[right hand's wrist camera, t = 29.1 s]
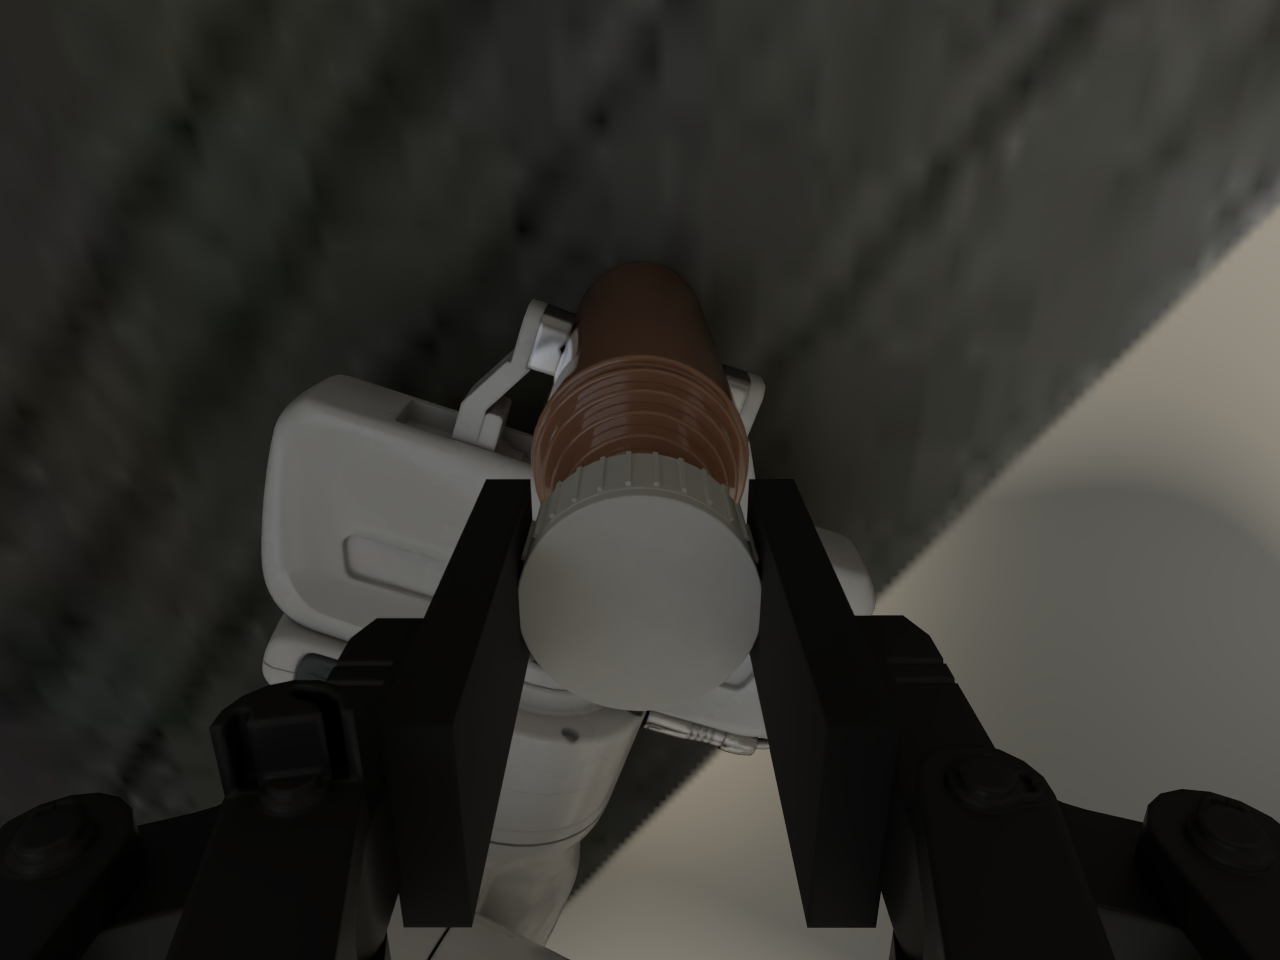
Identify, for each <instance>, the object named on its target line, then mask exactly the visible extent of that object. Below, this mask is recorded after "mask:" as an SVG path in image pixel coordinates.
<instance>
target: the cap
mask: <svg viewBox="0 0 1280 960" xmlns="http://www.w3.org/2000/svg"><path fill="white" fill-rule="evenodd" d="M521 560H524V564H523V567H522V571H521V575H520V578H519V583H518V595H519V612H520V627H521V633H522V636H523V638H524V641H525V643H526V645H527V647H528V649H529V651H530V652H531V654H532V656H533V657H534V659H535V660H536V662H537V663H538V664H539V665H540V667H541V668H542V669H543V670H544V671H545V672H546V673H547V674H548V675H549V676H550V677H551V678H552V679H553V680H554V681H555V682H557V683H558V684H559V685H561V686H562V687H564V688H565V689H566V690H568V691H569V692H571V693H573V694H575V695H577V696H579V697H580V698H583V699H585V700H588V701H590V702H592V703H595V704H598V705H602V706H606V707H609V708H615V709H621V710H632V711H648V710H659V709H665V708H671V707H674V706H678V705H681V704H685V703H687V702H690V701H692V700H695V699H697V698H699V697H701V696H703V695H705V694H707V693H708V692H710V691H712V690H713V689H715V688H716V687H718V686H719V685H720V684H722V683H723V682H724V681H726V680H727V679H728V678H729V677H730V676H731V675H732V674H733V673H734V672H735V671H736V670H737V669H738V667H739V666H740V665H741V664H742V663H743V661H744V660H745V658H746V657H747V655H748V654H749V652H750V650H751V649H752V647H753V645H754V642H755V640H756V638H757V636H758V632H759V619H760V603H761V579H760V575H759V572H758V568H757V564H759V558H758V555H757V551H756V548H755V544H754V541H753V537H752V534H751V530H750V527H749V524H746V523H745V519H744V516H743V512H742V508H741V505H740V504H739V502H738V503H735V502H734V500H733V499H732V497H731V496H730V495H729V493H728V492H727V488H726V486H725V485H724V484H722V485H720V484H719V483H718V482H717V481H716V480H714V479H713V478H712V477H711V476H710V475H708V474H707V470H705V469H704V468H702V470H700V469H699V468H697V467H695V466H693V465H691V464H689V463H686V462H684V459H683V458H680V457H679V458H678V459H675V458H672V457H668V456H663V455H658V452H653V454H647V453H633V454H632V453H631V451H628V452H626V454H622V455H617V456H611V457H608V458H606V457H605V456H603V457H600V460H598V461H595V462H593V463H591V464H589V465H587V466H585V467H583V468H582V467H581V466H579V467H578V468H577V470H576V472H575V473H573V474H572V475H570V476H569V477H568V478H567V479H565V480H564V481H563V482H561V481H559V482H558V483H557V484H556V488H555V490H554V491H553V492H552V493H551V494H550V496H549V497H548V499H547V500H545V499H543V500H542V502H541V505H540V508H539V512H538V516H537V518H536V521H535V520H532V522H531V525H530V529H529V532H528V536H527V539H526V543H525V546H524V550H523V553H522V557H521Z"/></svg>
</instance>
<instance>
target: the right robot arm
mask: <svg viewBox="0 0 1280 960" xmlns="http://www.w3.org/2000/svg"><path fill="white" fill-rule="evenodd" d="M532 520H533V517H532V498H531V479H486V480H485V483H484V485H483V487H482V489H481V492H480V494H479V496H478V498H477V500H476V503H475V505H474V507H473V509H472V512H471V514H470V516H469V518H468V520H467V523H466V525H465V527H464V529H463V531H462V534H461V536H460V538H459V540H458V543H457V545H456V547H455V549H454V551H453V554H452V556H451V558H450V560H449V563H448V565H447V567H446V569H445V571H444V574H443V576H442V578H441V580H440V583H439V585H438V587H437V589H436V591H435V594H434V596H433V598H432V600H431V603H430V605H429V607H428V609H427V611H426V614H425V616H424V618H376V619H375V620H374V621H372V622H371V623H370V624H368V625H367V626H366V627H364V628H363V629H362V630H360V631H359V632H358V633H356V634H355V635H354V636H353V637H351V638H350V639H349V641H348V643H347V645H346V646H345V648H344V650H343V652H342V653H341V655H340V657H339V658H338V660H337V665H336V666H334V667H333V669H332V671H331V672H330V674H329V676H328V677H327V679H326V681H321V680H292V681H287V682H282V683H277V684H272V685H268V686H265V687H263V688H261V689H258V690H256V691H254V692H251V693H249V694H246V695H244V696H242V697H241V698H239V699H238V700H236V701H235V702H233V703H232V704H231V705H229V706H228V707H226V708H225V709H224V710H222V711H221V713H220V714H219V715H218V717H217V718H216V719H215V721H214V722H213V723H212V725H211V726H210V727H209V729H210V733H211V738H212V742H213V746H214V751H215V755H216V759H217V764H218V768H219V772H220V777H221V781H222V785H223V790H224V794H225V797H224V800H223V803H222V804H220V805H218V806H216V807H212V808H209V809H206V810H202V811H199V812H196V813H192V814H187V815H183V816H179V817H174V818H170V819H165V820H161V821H157V822H152V823H148V824H143V825H139V826H137V823H136V820H135V816H134V813H133V809H132V808H131V807H130V806H129V805H128V804H127V803H126V802H125V801H124V800H123V799H121V798H120V797H117V796H112V795H107V794H103V793H90V794H79V795H70V796H67V797H64V798H61V799H57V800H54V801H51V802H48V803H45V804H41V805H39V806H37V807H35V808H33V809H31V810H29V811H27V812H25V813H23V814H21V815H20V816H18V817H16V818H14V819H12V820H10V821H8V822H7V823H6V824H5V825H3V826H2V827H1V828H0V960H391V956H390V949H389V942H388V936H387V929H388V925H389V922H390V919H391V916H392V913H393V910H394V907H395V903H396V900H397V897H398V894H399V899H400V906H401V913H402V920H403V927H404V928H472V925H473V920H474V916H475V911H476V906H477V902H478V897H479V892H480V887H481V883H482V878H483V873H484V869H485V864H486V859H487V854H488V850H489V845H490V840H491V836H492V831H493V826H494V821H495V817H496V812H497V807H498V803H499V798H500V793H501V788H502V784H503V779H504V774H505V770H506V765H507V760H508V755H509V751H510V746H511V741H512V737H513V732H514V727H515V722H516V718H517V713H518V708H519V704H520V699H521V694H522V689H523V685H524V680H525V675H526V671H527V666H528V661H529V656H530V651H529V649H528V647H527V645H526V643H525V641H524V638H523V636H522V633H521V627H520V612H519V595H518V583H519V578H520V575H521V571H522V567H523V564H524V560H521V557H522V553H523V550H524V546H525V543H526V539H527V536H528V532H529V529H530V525H531V522H532ZM747 524H749V527H750V530H751V534H752V537H753V541H754V544H755V548H756V551H757V555H758V558H759V564H757V568H758V572H759V575H760V579H761V603H760V619H759V632H758V636H757V638H756V640H755V642H754V645H753V647H752V649H751V650H750V652H749V654H750V659H751V664H752V668H753V673H754V678H755V682H756V687H757V692H758V697H759V701H760V706H761V711H762V715H763V720H764V725H765V730H766V734H767V739H768V744H769V748H770V753H771V758H772V762H773V767H774V772H775V777H776V781H777V786H778V791H779V796H780V800H781V805H782V810H783V815H784V819H785V824H786V829H787V833H788V838H789V843H790V848H791V852H792V857H793V862H794V866H795V871H796V876H797V880H798V885H799V890H800V895H801V899H802V904H803V909H804V913H805V918H806V923H807V927H808V928H876V923H877V916H878V909H879V902H880V894H881V892H882V895H883V898H884V901H885V904H886V907H887V910H888V914H889V917H890V920H891V923H892V926H893V936H892V942H891V949H890V955H889V960H1280V824H1279V823H1278V822H1277V821H1276V820H1274V819H1273V818H1272V817H1270V816H1268V815H1266V814H1264V813H1262V812H1260V811H1258V810H1257V809H1255V808H1253V807H1251V806H1249V805H1247V804H1245V803H1243V802H1241V801H1238V800H1235V799H1231V798H1229V797H1225V796H1222V795H1219V794H1215V793H1212V792H1207V791H1196V790H1186V789H1180V790H1175V791H1171V792H1166V793H1161V794H1159V795H1158V796H1157V797H1156V798H1155V799H1154V800H1153V801H1152V802H1151V803H1150V804H1149V805H1148V807H1147V811H1146V814H1145V818H1144V821H1143V822H1138V821H1134V820H1130V819H1125V818H1121V817H1116V816H1112V815H1108V814H1103V813H1099V812H1094V811H1090V810H1086V809H1082V808H1079V807H1075V806H1072V805H1069V804H1066V803H1063V802H1060V801H1058V800H1057V799H1056V796H1055V794H1054V792H1053V791H1052V789H1051V788H1050V786H1049V785H1048V783H1047V782H1046V780H1045V778H1044V777H1043V776H1042V775H1040V774H1039V773H1038V772H1037V771H1035V770H1034V769H1033V768H1032V767H1031V766H1029V765H1028V764H1027V763H1026V762H1024V761H1022V760H1020V759H1018V758H1016V757H1014V756H1012V755H1010V754H1008V753H1006V752H1003V751H1001V750H999V749H995V747H994V745H993V744H992V742H991V740H990V738H989V737H988V735H987V733H986V732H985V730H984V728H983V726H982V725H981V723H980V721H979V720H978V718H977V716H976V714H975V713H974V711H973V709H972V708H971V706H970V704H969V702H968V701H967V699H966V697H965V695H964V694H963V692H962V690H961V689H960V687H959V685H958V684H957V683H955V681H954V677H953V675H952V673H951V671H950V670H949V668H948V666H947V665H946V664H944V663H943V658H942V656H941V654H940V653H939V651H938V649H937V647H936V646H935V644H934V642H933V641H932V639H931V637H930V636H929V635H928V634H927V633H925V632H924V631H923V630H922V629H920V628H919V627H918V626H916V625H915V624H914V623H912V622H911V621H910V620H908V619H907V618H906V617H904V616H903V615H854V613H853V611H852V608H851V606H850V604H849V602H848V599H847V597H846V595H845V593H844V591H843V588H842V586H841V584H840V582H839V579H838V577H837V575H836V573H835V571H834V568H833V566H832V564H831V562H830V559H829V557H828V555H827V553H826V551H825V548H824V546H823V544H822V542H821V539H820V537H819V535H818V533H817V531H816V528H815V526H814V524H813V522H812V519H811V517H810V515H809V513H808V511H807V508H806V506H805V504H804V502H803V499H802V497H801V495H800V493H799V491H798V488H797V486H796V484H795V482H794V479H749V487H748V507H747Z"/></svg>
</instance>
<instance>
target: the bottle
mask: <svg viewBox="0 0 1280 960" xmlns="http://www.w3.org/2000/svg"><path fill="white" fill-rule="evenodd" d="M628 451H631V453H632V454H633V453H647V454H653V452H658V455H663V456H668V457H672V458H675V459H678V458H679V457H680V458H683V459H684V462H686V463H689V464H691V465H693V466H695V467H697V468H699V469H700V470H702V468H704V469H705V470H707V474H708V475H710V476H711V477H712V478H713V479H714V480H716V481H717V482H718V483H719V484H720V485H722V484H724V485H725V486H726V488H727V492H728V493H729V495H730V496H731V497H732V499H733V500H734V502H735V503H738V502H739V504H740V502H741V499H742V495H743V492H744V489H745V483H746V479H747V473H748V468H749V447H748V439H747V435H746V431H745V427H744V424H743V421H742V418H741V416H740V413H739V410H738V407H737V405H736V402H735V399H734V396H733V394H732V391H731V388H730V385H729V383H728V380H727V377H726V374H725V372H724V369H723V366H722V363H721V361H720V358H719V355H718V352H717V350H716V347H715V344H714V341H713V339H712V336H711V333H710V330H709V328H708V325H707V322H706V319H705V317H704V314H703V311H702V308H701V306H700V303H699V301H698V298H697V296H696V295H695V293H694V291H693V290H692V288H691V287H690V286H689V284H688V283H687V282H686V281H685V280H684V279H683V278H682V277H680V276H679V275H678V274H676V273H675V272H673V271H671V270H670V269H668V268H665V267H663V266H660V265H657V264H653V263H646V262H634V263H627V264H623V265H620V266H617V267H615V268H613V269H610V270H609V271H607V272H605V273H604V274H602V275H601V276H600V277H599V278H598V279H596V280H595V282H594V283H593V284H592V285H591V286H590V287H589V289H588V290H587V291H586V293H585V295H584V297H583V299H582V301H581V304H580V306H579V309H578V312H577V315H576V318H575V321H574V324H573V328H572V330H571V333H570V336H569V338H568V340H567V342H566V345H565V347H564V350H563V353H562V356H561V358H560V361H559V364H558V367H557V369H556V372H555V375H554V378H553V380H552V383H551V386H550V389H549V391H548V394H547V397H546V400H545V402H544V405H543V408H542V411H541V413H540V416H539V419H538V422H537V424H536V427H535V430H534V435H533V439H532V447H531V467H532V473H533V478H534V483H535V488H536V493H537V496H538V498H539V501H540V504H541V502H542V500H543V499H545V500H547V499H548V497H549V496H550V494H551V493H552V492H553V491H554V490H555V488H556V484H557V483H558V482H559V481H561V482H563V481H564V480H565V479H567V478H568V477H569V476H570V475H572V474H573V473H575V472H576V470H577V468H578V467H579V466H581V467H582V468H583V467H585V466H587V465H589V464H591V463H593V462H595V461H598V460H600V457H603V456H605V457H606V458H608V457H611V456H617V455H622V454H626V452H628Z"/></svg>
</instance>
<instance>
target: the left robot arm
mask: <svg viewBox="0 0 1280 960" xmlns="http://www.w3.org/2000/svg"><path fill="white" fill-rule="evenodd" d="M576 315H577V314H574V313H572V312H569V311H566V310H563V309H561V308H558V307H555V306H552V305H550V304H547V303H545V302H541V301H538V300H535V299H532V301H531V302H530V304H529V306H528V308H527V311H526V314H525V317H524V319H523V323H522V326H521V329H520V333H519V336H518V339H517V343H516V346H515V348H514V349H513V350H512V351H511V352H510V353H509V354H508V355H507V356H505V357H504V358H503V359H502V360H501V361H500V362H499V363H498V364H497V365H495V366H494V367H493V368H492V369H491V370H490V371H489V372H488V373H487V374H485V375H484V376H483V377H482V378H481V379H480V380H479V381H478V382H477V383H475V384H474V385H473V387H472V388H471V390H470V391H469V393H468V394H467V395H466V397H465V398H464V400H463V401H462V403H461V406H460V409H459V411H456V410H453V409H450V408H447V407H444V406H441V405H438V404H434V403H431V402H428V401H425V400H422V399H419V398H416V397H413V396H410V395H407V394H403V393H400V392H397V391H394V390H391V389H388V388H385V387H382V386H379V385H375V384H372V383H369V382H366V381H363V380H360V379H357V378H354V377H351V376H347V375H340V374H339V375H334V376H331V377H329V378H327V379H325V380H324V381H322V382H320V383H318V384H316V385H314V386H312V387H311V388H309V389H308V390H306V391H305V392H303V393H302V394H300V395H299V396H298V397H296V398H295V399H294V400H293V401H292V402H291V403H290V404H289V405H288V406H287V407H286V408H285V409H284V410H283V412H282V413H281V415H280V417H279V418H278V420H277V423H276V425H275V428H274V432H273V437H272V442H271V446H270V452H269V458H268V465H267V472H266V480H265V489H264V500H263V514H262V540H261V559H262V569H263V574H264V579H265V582H266V585H267V588H268V590H269V592H270V594H271V596H272V598H273V600H274V601H275V603H276V604H277V605H278V606H279V608H280V609H281V610H282V611H283V612H284V614H283V616H282V617H281V619H280V621H279V623H278V624H277V626H276V628H275V630H274V633H273V635H272V637H271V639H270V641H269V643H268V646H267V648H266V651H265V655H264V659H263V667H262V669H263V674H264V677H265V679H266V680H267V682H268V683H269V684H270V685H272V684H277V683H282V682H287V681H292V680H321V681H326V679H327V677H328V676H329V674H330V672H331V671H332V669H333V667H334V666H336V665H337V660H338V658H339V657H340V655H341V653H342V652H343V650H344V648H345V646H346V645H347V643H348V641H349V639H350V638H351V637H353V636H354V635H355V634H356V633H358V632H359V631H360V630H362V629H363V628H364V627H366V626H367V625H368V624H370V623H371V622H372V621H374V620H375V619H376V618H424V616H425V614H426V611H427V609H428V607H429V605H430V603H431V600H432V598H433V596H434V594H435V591H436V589H437V587H438V585H439V583H440V580H441V578H442V576H443V574H444V571H445V569H446V567H447V565H448V563H449V560H450V558H451V556H452V554H453V551H454V549H455V547H456V545H457V543H458V540H459V538H460V536H461V534H462V531H463V529H464V527H465V525H466V523H467V520H468V518H469V516H470V514H471V512H472V509H473V507H474V505H475V503H476V500H477V498H478V496H479V494H480V492H481V489H482V487H483V485H484V483H485V480H486V479H531V498H532V517H533V520H535V521H536V518H537V516H538V512H539V508H540V505H541V504H540V501H539V498H538V496H537V493H536V488H535V483H534V478H533V473H532V467H531V447H532V439H533V435H531V434H528V433H525V432H522V431H518V430H515V429H512V428H509V427H506V426H505V425H506V422H507V418H508V415H509V411H510V407H511V404H512V401H511V399H510V398H509V397H506V396H503V395H504V394H505V393H506V392H507V391H508V390H509V389H510V388H511V387H513V386H514V385H515V384H516V383H517V382H518V381H519V380H520V379H521V378H522V377H524V376H525V375H526V374H527V373H528V372H529V371H530V370H531V369H533V370H536V371H539V372H543V373H546V374H549V375H552V376H554V375H555V372H556V369H557V367H558V364H559V361H560V358H561V356H562V353H563V350H564V347H565V345H566V342H567V340H568V338H569V336H570V333H571V330H572V328H573V324H574V321H575V318H576ZM722 366H723V369H724V372H725V374H726V377H727V380H728V383H729V385H730V388H731V391H732V394H733V396H734V399H735V402H736V405H737V407H738V410H739V413H740V416H741V418H742V421H743V424H744V427H745V431H746V435H747V439H748V434H749V432H750V429H751V427H752V425H753V422H754V420H755V417H756V415H757V412H758V410H759V407H760V405H761V403H762V400H763V397H764V392H765V383H764V381H763V379H762V378H761V376H758V375H755V374H752V373H749V372H746V371H743V370H740V369H737V368H734V367H731V366H728V365H724V364H722ZM748 447H749V468H748V473H747V479H746V483H745V489H744V492H743V495H742V499H741V502H740V505H741V508H742V512H743V516H744V519H745V523H746V524H747V507H748V487H749V479H755V474H754V467H753V461H752V454H751V448H750V442H749V439H748ZM815 528H816V531H817V533H818V535H819V537H820V539H821V542H822V544H823V546H824V548H825V551H826V553H827V555H828V557H829V559H830V562H831V564H832V566H833V568H834V571H835V573H836V575H837V577H838V579H839V582H840V584H841V586H842V588H843V591H844V593H845V595H846V597H847V599H848V602H849V604H850V606H851V608H852V611H853V613H854V615H872V613H873V611H874V608H875V601H876V600H875V592H874V588H873V584H872V581H871V578H870V576H869V573H868V570H867V568H866V566H865V564H864V562H863V560H862V558H861V557H860V555H859V553H858V551H857V550H856V548H855V546H854V545H853V543H852V542H851V541H850V540H849V539H848V538H847V537H845V536H843V535H841V534H839V533H836V532H833V531H829V530H826V529H823V528H820V527H817V526H815ZM640 728H644V729H648V730H651V731H655V732H658V733H662V734H666V735H669V736H673V737H677V738H681V739H687V740H694V741H699V742H700V741H701V742H703V743H708V744H711V745H714V746H717V747H718V749H721V750H723V751H726V752H729V753H733V754H738V755H752V754H753V753H754V752H755V750H756V749H770V748H769V744H768V739H767V734H766V730H765V725H764V720H763V715H762V711H761V706H760V701H759V697H758V692H757V687H756V682H755V678H754V673H753V668H752V664H751V659H750V654H748V655H747V657H746V658H745V660H744V661H743V663H742V664H741V665H740V666H739V667H738V669H737V670H736V671H735V672H734V673H733V674H732V675H731V676H730V677H729V678H728V679H727V680H726V681H724V682H723V683H722V684H720V685H719V686H718V687H716V688H715V689H713V690H712V691H710V692H708V693H707V694H705V695H703V696H701V697H699V698H697V699H695V700H692V701H690V702H687V703H685V704H681V705H678V706H674V707H671V708H665V709H659V710H648V711H632V710H621V709H615V708H609V707H606V706H602V705H598V704H595V703H592V702H590V701H588V700H585V699H583V698H580V697H579V696H577V695H575V694H573V693H571V692H569V691H568V690H566V689H565V688H564V687H562V686H561V685H559V684H558V683H557V682H555V681H554V680H553V679H552V678H551V677H550V676H549V675H548V674H547V673H546V672H545V671H544V670H543V669H542V668H541V667H540V665H539V664H538V663H537V662H536V660H535V659H534V657H533V656H532V654H531V652H530V656H529V661H528V666H527V671H526V675H525V680H524V685H523V689H522V694H521V699H520V704H519V708H518V713H517V718H516V722H515V727H514V732H513V737H512V741H511V746H510V751H509V755H508V760H507V765H506V770H505V774H504V779H503V784H502V788H501V793H500V798H499V803H498V807H497V812H496V817H495V821H494V826H493V831H492V836H491V840H490V845H489V850H488V854H487V859H486V864H485V869H484V873H483V878H482V883H481V887H480V892H479V897H478V902H477V906H476V911H475V916H474V920H473V925H472V928H404V927H403V920H402V913H401V906H400V899H399V894H398V897H397V900H396V903H395V907H394V910H393V913H392V916H391V919H390V922H389V925H388V929H387V936H388V942H389V949H390V956H391V960H569V959H567V958H565V957H563V956H561V955H559V954H558V953H555V952H554V951H552V950H550V949H548V948H546V947H545V945H546V943H547V941H548V939H549V937H550V935H551V933H552V931H553V929H554V927H555V925H556V923H557V921H558V919H559V917H560V914H561V912H562V910H563V908H564V906H565V903H566V901H567V899H568V896H569V894H570V892H571V889H572V887H573V884H574V881H575V879H576V875H577V871H578V866H579V858H580V841H581V840H582V839H583V838H584V837H585V836H586V835H587V834H588V833H589V832H590V830H591V829H592V828H593V827H594V826H595V825H596V823H597V822H598V820H599V819H600V817H601V815H602V814H603V812H604V810H605V808H606V806H607V804H608V801H609V799H610V796H611V794H612V792H613V789H614V787H615V785H616V782H617V780H618V778H619V775H620V773H621V770H622V768H623V766H624V763H625V761H626V759H627V756H628V753H629V751H630V749H631V747H632V744H633V742H634V739H635V737H636V735H637V732H638V730H639V729H640ZM758 737H761V738H758Z"/></svg>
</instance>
